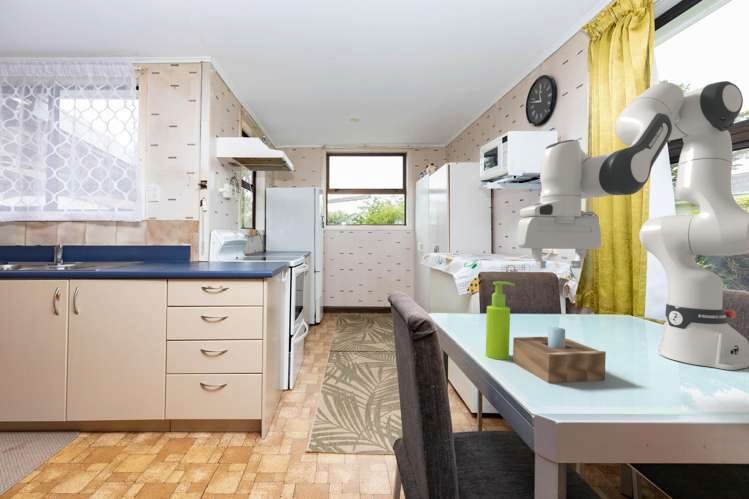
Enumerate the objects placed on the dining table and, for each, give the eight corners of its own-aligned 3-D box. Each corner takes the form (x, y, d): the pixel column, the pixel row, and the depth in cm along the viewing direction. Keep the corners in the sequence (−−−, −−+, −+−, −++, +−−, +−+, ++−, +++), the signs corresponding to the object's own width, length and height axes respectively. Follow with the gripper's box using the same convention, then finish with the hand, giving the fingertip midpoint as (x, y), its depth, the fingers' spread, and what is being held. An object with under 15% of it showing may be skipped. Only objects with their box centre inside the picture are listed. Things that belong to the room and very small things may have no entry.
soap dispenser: (514, 360, 94) (516, 283, 94) (486, 358, 95) (488, 282, 95) (511, 354, 100) (512, 281, 99) (484, 352, 101) (486, 280, 101)
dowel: (557, 367, 89) (558, 327, 89) (567, 373, 86) (568, 330, 85) (544, 368, 88) (545, 327, 88) (553, 373, 85) (555, 330, 85)
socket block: (562, 360, 95) (562, 336, 95) (604, 380, 81) (605, 351, 81) (512, 362, 93) (513, 337, 93) (548, 382, 79) (549, 353, 79)
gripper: (588, 212, 91) (587, 267, 92) (513, 209, 88) (512, 267, 88) (608, 210, 85) (607, 269, 85) (529, 207, 82) (527, 269, 82)
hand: (558, 268), depth 87 cm, fingers open, 8 cm apart
